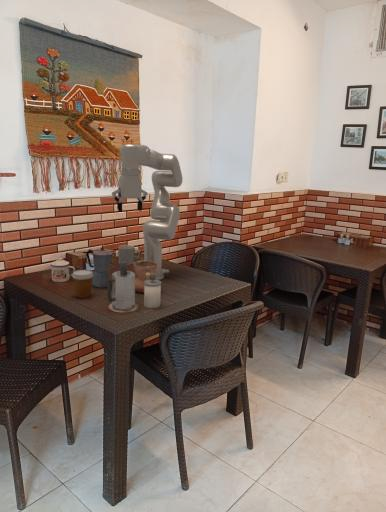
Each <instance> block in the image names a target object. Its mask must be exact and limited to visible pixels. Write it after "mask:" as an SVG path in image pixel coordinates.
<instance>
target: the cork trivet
mask: <svg viewBox="0 0 386 512" xmlns="http://www.w3.org/2000/svg"><path fill="white" fill-rule="evenodd" d="M138 308H139V304H137V303H136V302H135V307H134V308H133V309H131V310H127V311H119V310H115V309H113V308H112V303H110V304H109V305H108V309H109V310H110V311H111V312H116V313H129V312H130V313H131V312H134V311H136V310H138Z"/></svg>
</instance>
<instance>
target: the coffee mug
mask: <svg viewBox="0 0 386 512" xmlns="http://www.w3.org/2000/svg"><path fill="white" fill-rule="evenodd" d="M117 248H118V249H117V250H118V251H117V254H118V257H117V260H118V261H117V264H119V265H120V262H121V261H127V266H129V265H130V266H131V265H134V262H135V260H137V259H139V258H140V256H141V253H140V252H141V251H140V249H138V248H135V246H134V245H131V244H129V245H128V244H126V245H125V244H124V245H123V244H122V245H119V246H118V247H117ZM136 252H137V255H136Z"/></svg>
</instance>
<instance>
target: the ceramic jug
mask: <svg viewBox="0 0 386 512" xmlns="http://www.w3.org/2000/svg"><path fill="white" fill-rule="evenodd" d="M133 269H134V273H135V293H141V294H144V281H145V280H150V273H156V272H157V269H158V263H156V262H153V261H146V260H144V259H142V260H137V261H134V264H133Z"/></svg>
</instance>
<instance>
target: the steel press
mask: <svg viewBox="0 0 386 512" xmlns="http://www.w3.org/2000/svg"><path fill="white" fill-rule="evenodd" d="M135 279H136V273H135V272H134V271H130V270H127V274H125V275H122V274H120V270H118V271H114V272H113V273H112V274H111V279H109V280H107V287H106V288H107V302H108V303H111V304H112V308H113V309H115V310H119V311H127V310H131V309H133V308H134V307H135V303H136V297H135V296H136V291H135Z"/></svg>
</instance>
